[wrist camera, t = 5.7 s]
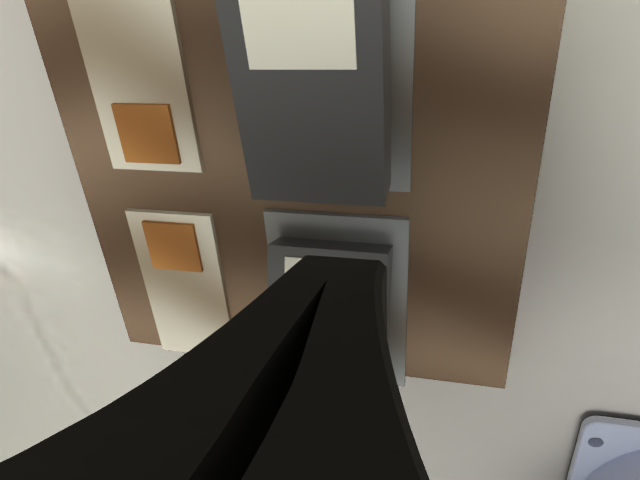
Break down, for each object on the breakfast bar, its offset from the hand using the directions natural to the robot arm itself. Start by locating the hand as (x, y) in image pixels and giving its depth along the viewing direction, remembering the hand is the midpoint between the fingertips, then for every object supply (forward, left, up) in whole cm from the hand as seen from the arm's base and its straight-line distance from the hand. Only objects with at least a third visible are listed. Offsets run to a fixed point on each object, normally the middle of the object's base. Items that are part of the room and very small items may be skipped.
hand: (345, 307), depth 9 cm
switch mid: (+2, +2, -5) cm, 6 cm away
